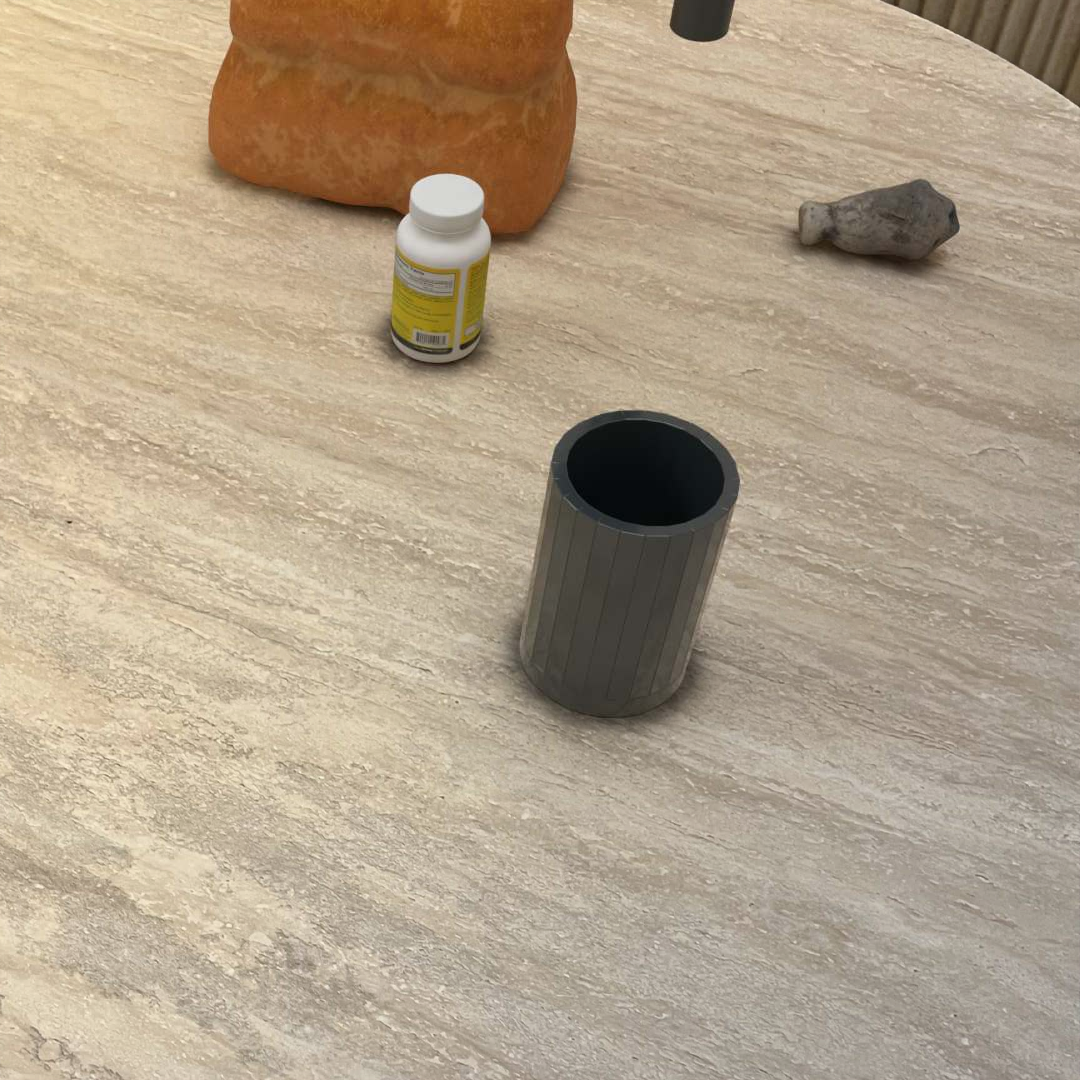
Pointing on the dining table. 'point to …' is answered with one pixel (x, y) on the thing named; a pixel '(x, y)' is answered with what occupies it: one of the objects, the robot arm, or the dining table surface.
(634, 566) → the ribbed pencil cup
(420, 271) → the pill bottle
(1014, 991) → the dining table surface
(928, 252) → the stone
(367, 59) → the bread
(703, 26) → the brush
